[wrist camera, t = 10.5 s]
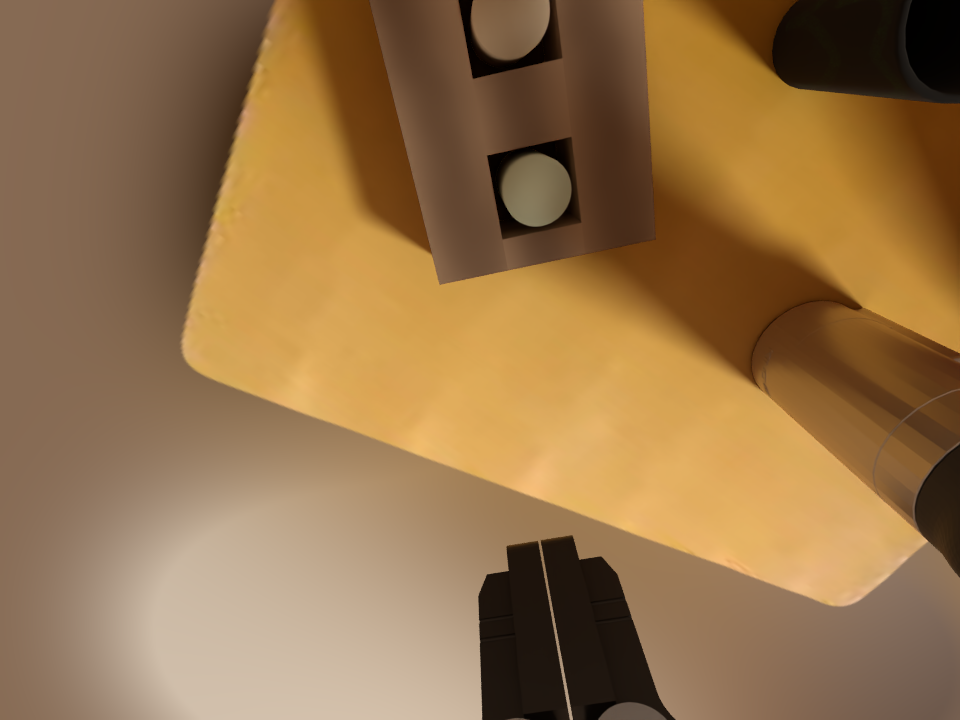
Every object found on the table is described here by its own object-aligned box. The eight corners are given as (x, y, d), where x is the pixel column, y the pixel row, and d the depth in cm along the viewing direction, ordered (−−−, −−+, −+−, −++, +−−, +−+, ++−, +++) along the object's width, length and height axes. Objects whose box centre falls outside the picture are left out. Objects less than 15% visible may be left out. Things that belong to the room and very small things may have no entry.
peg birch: (526, -14, 31) (543, -45, 25) (536, 60, 33) (554, 48, 27) (462, 1, 32) (464, -26, 26) (475, 74, 33) (480, 65, 27)
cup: (770, 127, 36) (908, 134, 25) (743, 10, 32) (886, -42, 22) (883, 69, 34) (1081, 49, 23) (866, -59, 31) (1083, -150, 20)
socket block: (603, -85, 30) (635, -128, 25) (627, 221, 38) (655, 239, 32) (372, -29, 31) (354, -59, 25) (441, 260, 39) (439, 284, 33)
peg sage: (547, 142, 35) (566, 148, 29) (555, 201, 37) (575, 218, 31) (490, 155, 36) (497, 163, 29) (501, 213, 37) (510, 232, 31)
